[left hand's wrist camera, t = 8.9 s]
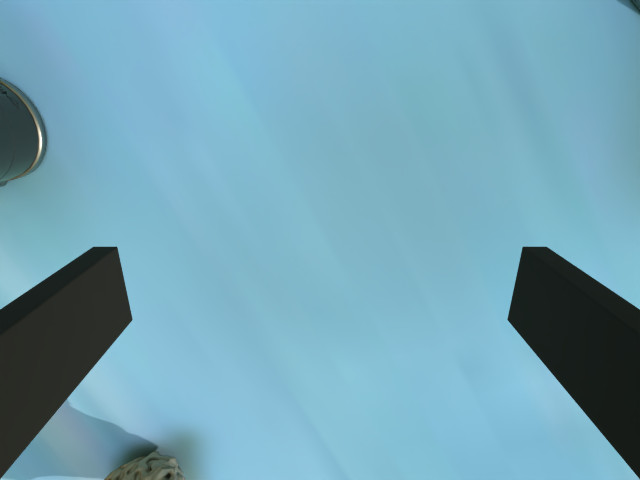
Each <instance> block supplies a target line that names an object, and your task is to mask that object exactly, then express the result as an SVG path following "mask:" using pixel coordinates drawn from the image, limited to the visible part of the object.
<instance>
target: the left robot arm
mask: <svg viewBox="0 0 640 480" xmlns="http://www.w3.org/2000/svg"><path fill="white" fill-rule="evenodd" d="M632 1H633V3H634V4H635V6H636V7H637V8H638V9H639V10H640V0H632ZM131 321H132V315H131V310H130V306H129V301H128V296H127V291H126V287H125V282H124V277H123V272H122V267H121V263H120V258H119V253H118V248H117V247H93V248H91V249H90V250H88V251H87V252H85V253H84V254H82V255H81V256H79V257H78V258H76V259H75V260H73V261H72V262H70V263H69V264H67V265H66V266H64V267H63V268H61V269H60V270H58V271H57V272H55V273H54V274H52V275H51V276H49V277H48V278H47V279H45V280H44V281H42V282H41V283H39V284H38V285H36V286H35V287H33V288H32V289H30V290H29V291H27V292H26V293H24V294H23V295H21V296H20V297H18V298H17V299H15V300H14V301H12V302H11V303H9V304H8V305H6V306H5V307H3V308H2V309H1V310H0V479H1V477H2V476H3V475H4V474H5V473H6V471H7V470H8V469H9V468H10V467H11V465H12V464H13V463H14V462H15V460H16V459H17V458H18V457H19V456H20V454H21V453H22V452H23V451H24V450H25V448H26V447H27V446H28V445H29V444H30V442H31V441H32V440H33V439H34V438H35V436H36V435H37V434H38V433H39V432H40V430H41V429H42V428H43V427H44V426H45V424H46V423H47V422H48V421H49V420H50V418H51V417H52V416H53V415H54V414H55V412H56V411H57V410H58V409H59V408H60V406H61V405H62V404H63V403H64V402H65V400H66V399H67V398H68V397H69V396H70V394H71V393H72V392H73V391H74V390H75V388H76V387H77V386H78V385H79V384H80V382H81V381H82V380H83V379H84V377H85V376H86V375H87V374H88V373H89V371H90V370H91V369H92V368H93V367H94V365H95V364H96V363H97V362H98V361H99V359H100V358H101V357H102V356H103V355H104V353H105V352H106V351H107V350H108V349H109V347H110V346H111V345H112V344H113V343H114V341H115V340H116V339H117V338H118V337H119V335H120V334H121V333H122V332H123V331H124V329H125V328H126V327H127V326H128V325H129V323H130V322H131ZM508 321H509V322H510V323H511V325H512V326H513V327H514V328H515V329H516V331H517V332H518V333H519V334H520V335H521V337H522V338H523V339H524V340H525V341H526V343H527V344H528V345H529V346H530V347H531V349H532V350H533V351H534V352H535V353H536V355H537V356H538V357H539V358H540V359H541V361H542V362H543V363H544V364H545V365H546V367H547V368H548V369H549V370H550V371H551V373H552V374H553V375H554V376H555V378H556V379H557V380H558V381H559V382H560V384H561V385H562V386H563V387H564V388H565V390H566V391H567V392H568V393H569V394H570V396H571V397H572V398H573V399H574V400H575V402H576V403H577V404H578V405H579V406H580V408H581V409H582V410H583V411H584V412H585V414H586V415H587V416H588V417H589V418H590V420H591V421H592V422H593V423H594V424H595V426H596V427H597V428H598V429H599V430H600V432H601V433H602V434H603V435H604V436H605V438H606V439H607V440H608V441H609V442H610V444H611V445H612V446H613V447H614V448H615V450H616V451H617V452H618V453H619V454H620V456H621V457H622V458H623V459H624V460H625V462H626V463H627V464H628V465H629V467H630V468H631V469H632V470H633V471H634V473H635V474H636V475H637V476H638V477H639V479H640V310H639V309H638V308H637V307H635V306H634V305H632V304H631V303H629V302H628V301H626V300H625V299H623V298H622V297H620V296H619V295H617V294H616V293H614V292H613V291H611V290H610V289H608V288H607V287H605V286H604V285H602V284H601V283H599V282H598V281H596V280H595V279H593V278H592V277H591V276H589V275H588V274H586V273H585V272H583V271H582V270H580V269H579V268H577V267H576V266H574V265H573V264H571V263H570V262H568V261H567V260H565V259H564V258H562V257H561V256H559V255H558V254H556V253H555V252H553V251H552V250H550V249H549V248H547V247H523V248H522V253H521V258H520V263H519V267H518V272H517V277H516V282H515V287H514V291H513V296H512V301H511V306H510V310H509V315H508Z"/></svg>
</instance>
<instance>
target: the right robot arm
mask: <svg viewBox="0 0 640 480" xmlns="http://www.w3.org/2000/svg"><path fill="white" fill-rule="evenodd" d="M45 150H46V132H45V128H44V124H43V122H42V119H41V117H40V115H39V113H38V111H37V109H36V108H35V106H34V105H33V103H32V102H31V101H30V100H29V99H28V97H27V96H26V95H25V94H24V93H23V92H22V91H20V90H19V89H18V88H17V87H15V86H14V85H12V84H11V83H9V82H8V81H6V80H4V79H2V78H0V187H2V186H5V185H6V183H7V181H8V180H13V179H17V178H20V177H23V176H26V175H28V174H30V173H31V172H33V171H34V170H35V169H36V168H37V167H38V166H39V164H40V163H41V161H42V159H43V157H44V154H45Z"/></svg>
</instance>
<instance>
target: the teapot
mask: <svg viewBox="0 0 640 480" xmlns="http://www.w3.org/2000/svg"><path fill="white" fill-rule="evenodd" d="M182 475H183V472H182V471H181V469H180V468H179V466H178V464H177V462H176V459H175V458H173V457H171V456H161V455H159V453H158V452H156V451H153V452H152V453H150V454H149V455H148V456H147V457H139V458H136V459H134V460H133V461H131V462H129V463H126V464H124V465H122V466H121V467H119V468H118V469H116V470H114V471H112V472H111V473H110V474H109V475H108V476H107V477H106V478H105V479H104V480H185V478H184V477H183V476H182Z"/></svg>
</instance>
